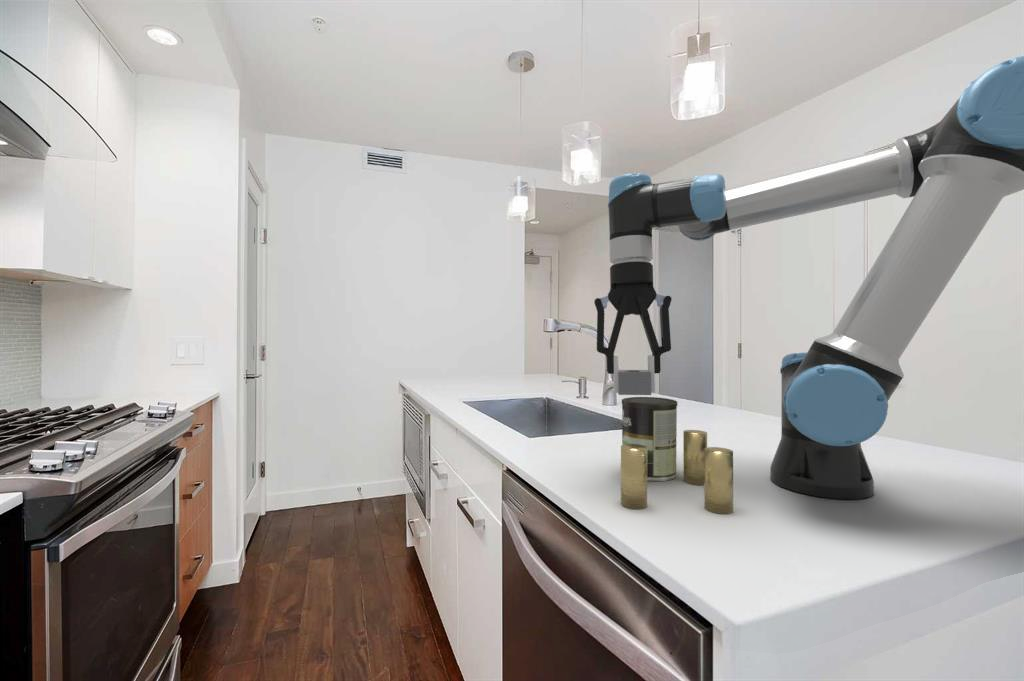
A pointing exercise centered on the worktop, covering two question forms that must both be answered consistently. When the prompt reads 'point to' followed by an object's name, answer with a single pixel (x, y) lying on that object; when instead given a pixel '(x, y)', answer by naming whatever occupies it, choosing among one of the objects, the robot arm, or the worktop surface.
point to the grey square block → (634, 382)
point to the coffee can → (652, 433)
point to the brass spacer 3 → (718, 480)
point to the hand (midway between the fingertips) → (633, 391)
